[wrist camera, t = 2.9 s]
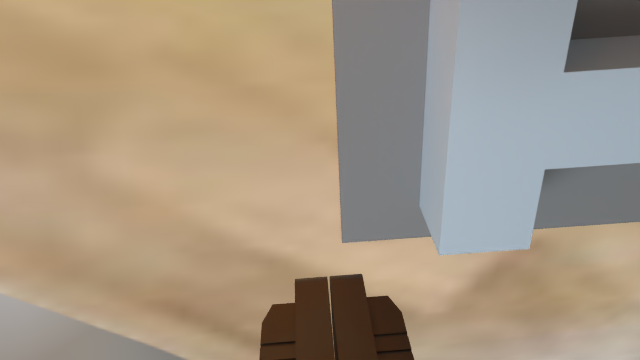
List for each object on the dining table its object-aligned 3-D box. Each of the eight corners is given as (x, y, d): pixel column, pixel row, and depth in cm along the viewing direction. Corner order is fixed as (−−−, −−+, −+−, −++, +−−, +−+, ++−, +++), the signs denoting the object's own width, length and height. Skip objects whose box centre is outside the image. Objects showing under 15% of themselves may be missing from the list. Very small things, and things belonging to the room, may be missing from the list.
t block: (419, 205, 26) (438, 255, 22) (433, -53, 20) (462, -41, 16) (653, 189, 26) (708, 235, 22) (738, -73, 20) (833, -65, 16)
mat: (1016, -150, 19) (1022, -150, 19) (824, 206, 27) (828, 208, 27) (327, -106, 19) (328, -106, 18) (342, 240, 27) (342, 242, 26)
